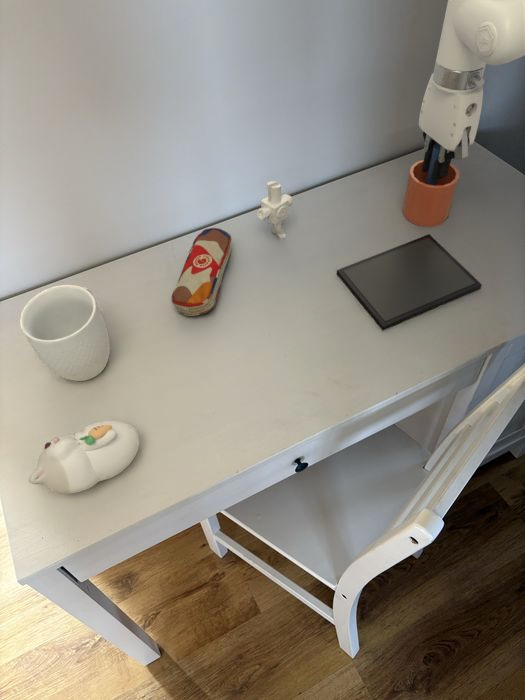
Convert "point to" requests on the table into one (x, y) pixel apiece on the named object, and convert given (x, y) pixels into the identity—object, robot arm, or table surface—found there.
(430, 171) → the stylus
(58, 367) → the mug
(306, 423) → the table surface
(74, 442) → the cat figurine
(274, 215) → the toy robot
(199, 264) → the pencil case
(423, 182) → the pen cup
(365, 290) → the tablet
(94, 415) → the table surface
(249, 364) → the table surface
